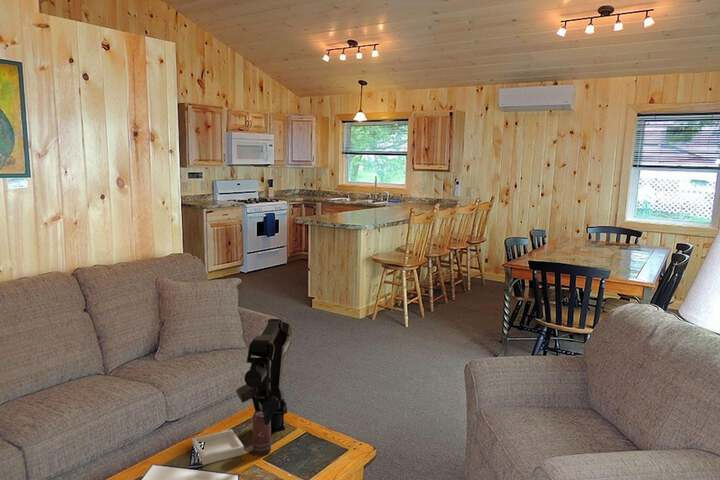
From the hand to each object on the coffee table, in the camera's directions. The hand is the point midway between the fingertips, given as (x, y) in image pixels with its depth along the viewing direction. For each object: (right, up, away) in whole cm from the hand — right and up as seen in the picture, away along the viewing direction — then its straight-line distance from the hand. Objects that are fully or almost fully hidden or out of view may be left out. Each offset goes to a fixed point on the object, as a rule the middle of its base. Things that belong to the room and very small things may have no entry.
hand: (261, 419), depth 180 cm
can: (0, -12, +1) cm, 12 cm away
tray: (-15, -11, +2) cm, 19 cm away
